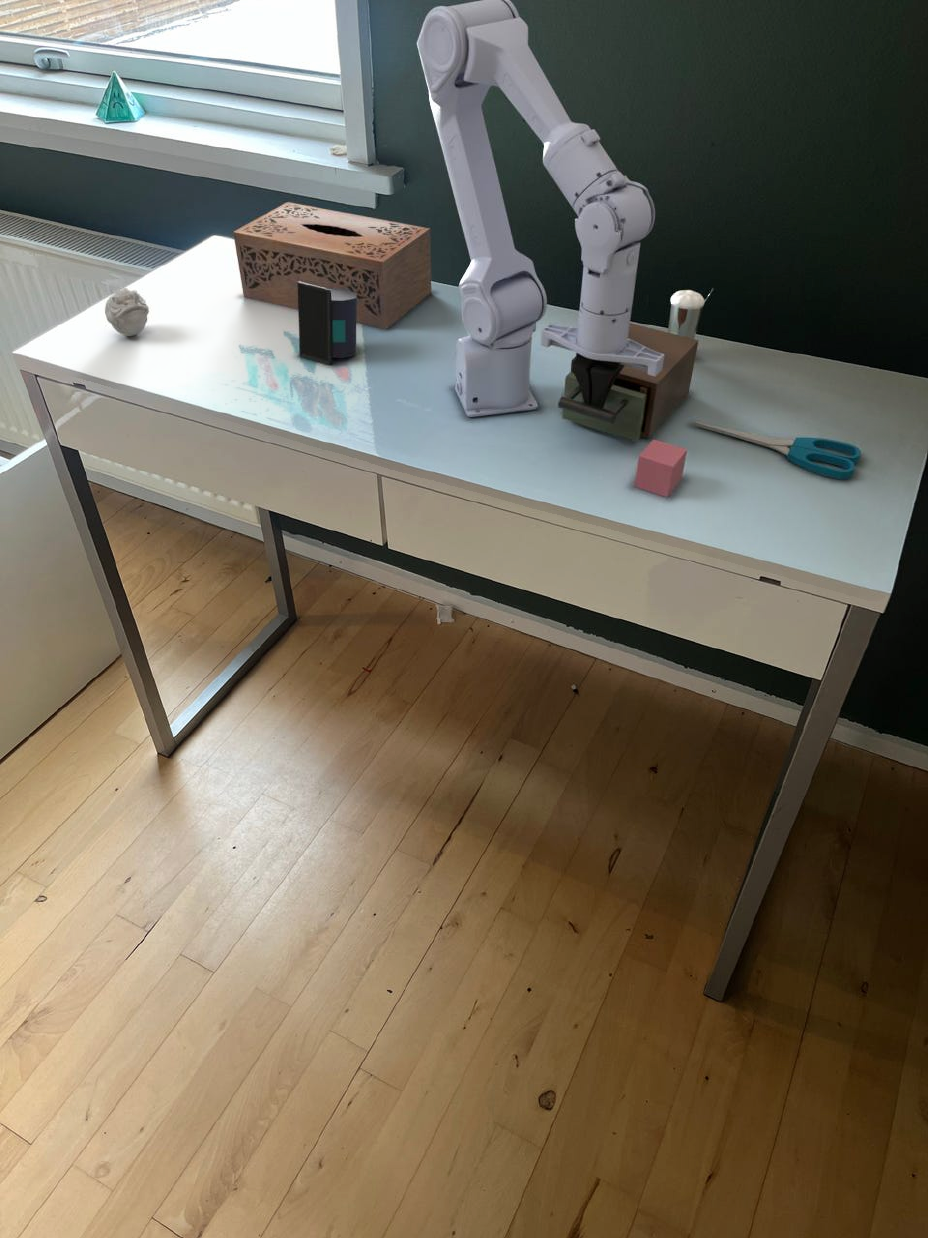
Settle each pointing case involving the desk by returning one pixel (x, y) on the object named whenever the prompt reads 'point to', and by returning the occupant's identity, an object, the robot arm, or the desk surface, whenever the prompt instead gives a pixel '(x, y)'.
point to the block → (660, 468)
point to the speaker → (326, 323)
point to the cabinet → (662, 373)
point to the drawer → (608, 408)
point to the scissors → (804, 451)
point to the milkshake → (685, 313)
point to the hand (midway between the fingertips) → (593, 413)
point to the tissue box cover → (335, 260)
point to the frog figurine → (127, 312)
